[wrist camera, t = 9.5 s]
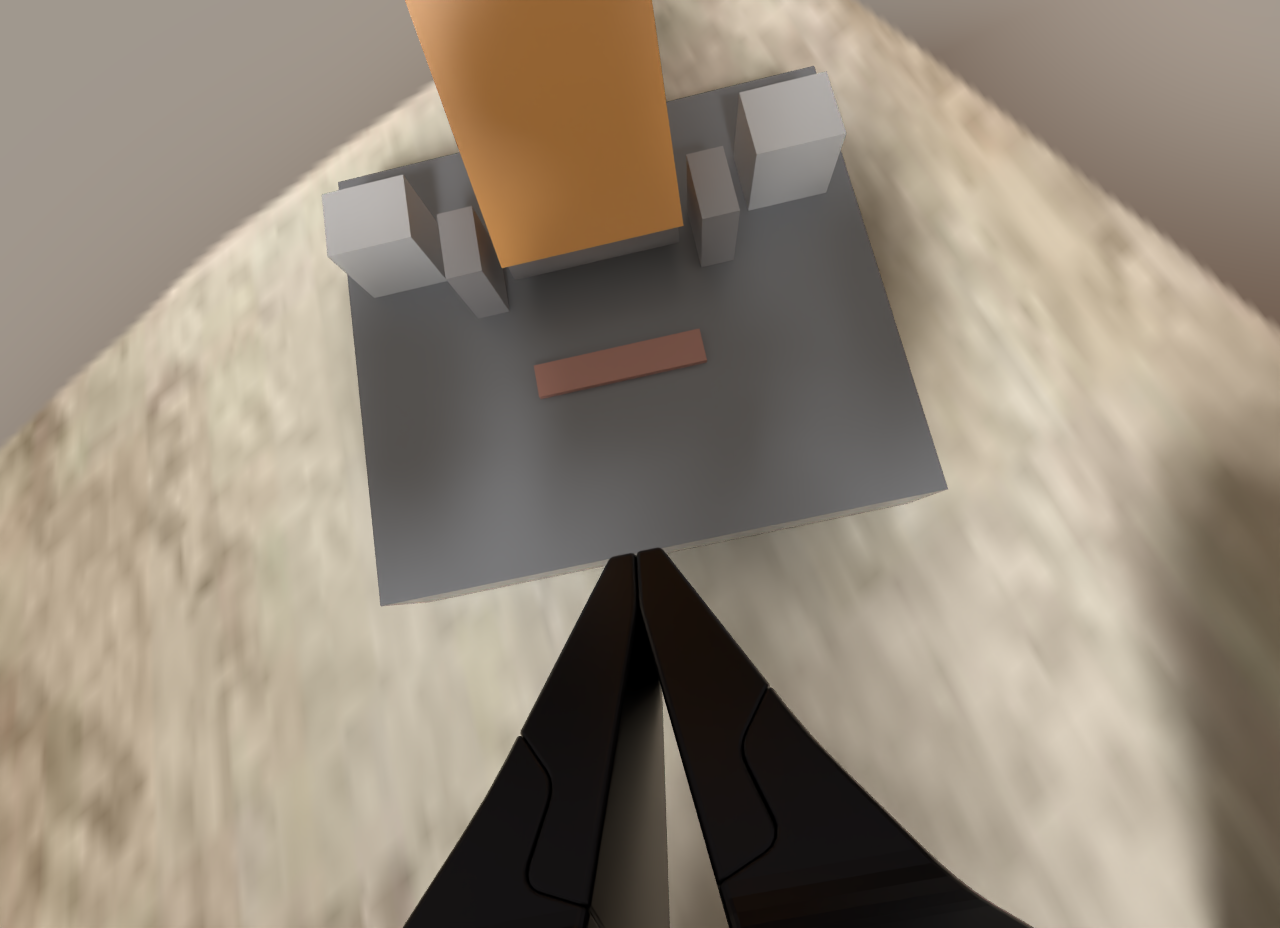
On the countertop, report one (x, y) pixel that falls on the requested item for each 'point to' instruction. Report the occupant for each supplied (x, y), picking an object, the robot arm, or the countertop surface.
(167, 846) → the countertop surface
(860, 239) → the box
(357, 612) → the countertop surface
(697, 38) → the countertop surface
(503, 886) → the robot arm
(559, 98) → the lever
